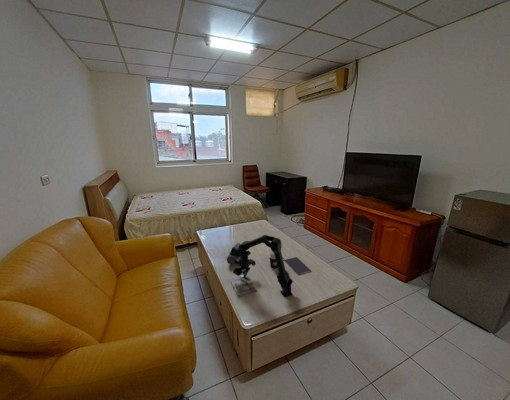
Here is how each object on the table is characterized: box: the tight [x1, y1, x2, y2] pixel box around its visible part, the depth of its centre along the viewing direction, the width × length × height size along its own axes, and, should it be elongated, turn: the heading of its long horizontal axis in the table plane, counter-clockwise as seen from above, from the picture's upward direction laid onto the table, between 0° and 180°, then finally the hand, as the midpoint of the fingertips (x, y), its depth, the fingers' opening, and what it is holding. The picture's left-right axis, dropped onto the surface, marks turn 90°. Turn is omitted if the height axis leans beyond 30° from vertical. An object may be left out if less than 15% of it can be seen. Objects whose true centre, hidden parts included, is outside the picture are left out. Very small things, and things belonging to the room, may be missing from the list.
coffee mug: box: [268, 252, 285, 270], centre depth 176 cm, size 12×9×10 cm
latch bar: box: [239, 274, 252, 285], centre depth 158 cm, size 10×3×3 cm, turn 45°
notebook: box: [284, 256, 312, 276], centre depth 179 cm, size 13×2×21 cm
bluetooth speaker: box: [226, 242, 242, 266], centre depth 188 cm, size 23×9×10 cm, turn 168°
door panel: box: [230, 276, 258, 298], centre depth 154 cm, size 16×14×4 cm
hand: (244, 276), depth 162 cm, fingers closed
